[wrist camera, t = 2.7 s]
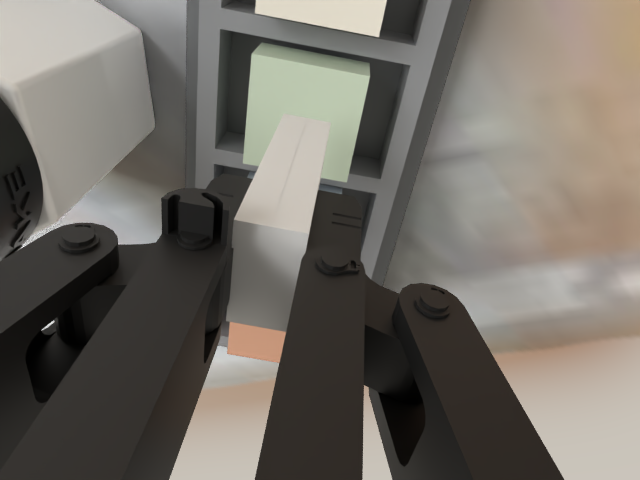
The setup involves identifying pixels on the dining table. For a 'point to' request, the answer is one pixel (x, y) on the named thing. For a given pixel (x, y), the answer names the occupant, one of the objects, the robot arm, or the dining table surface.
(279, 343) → the key terracotta
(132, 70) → the jar
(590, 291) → the dining table surface
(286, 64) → the key sage
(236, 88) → the grey compartment tray
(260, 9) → the key cream
